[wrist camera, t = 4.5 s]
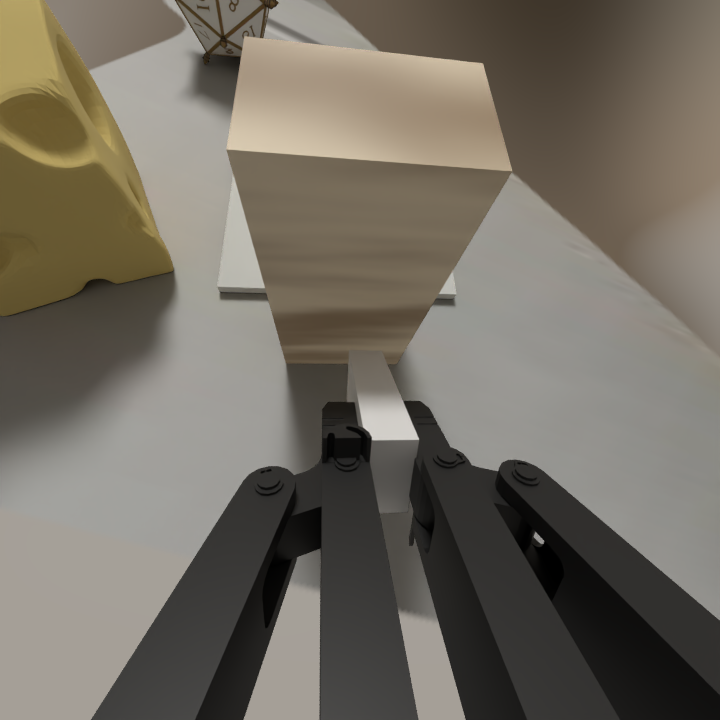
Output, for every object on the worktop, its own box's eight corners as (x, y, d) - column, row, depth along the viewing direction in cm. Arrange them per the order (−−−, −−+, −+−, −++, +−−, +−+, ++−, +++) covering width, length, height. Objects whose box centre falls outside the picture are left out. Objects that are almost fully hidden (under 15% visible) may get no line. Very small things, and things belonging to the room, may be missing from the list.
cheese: (180, 273, 22) (79, 117, 13) (-9, 328, 20) (-307, 182, 10) (142, 165, 25) (39, -24, 16) (-26, 200, 22) (-269, -3, 13)
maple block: (396, 364, 21) (512, 171, 8) (285, 363, 21) (226, 149, 8) (391, 303, 23) (482, 63, 10) (289, 300, 22) (244, 35, 9)
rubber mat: (453, 298, 24) (456, 294, 23) (219, 291, 22) (217, 286, 21) (431, 158, 29) (433, 152, 28) (240, 143, 27) (238, 136, 26)
